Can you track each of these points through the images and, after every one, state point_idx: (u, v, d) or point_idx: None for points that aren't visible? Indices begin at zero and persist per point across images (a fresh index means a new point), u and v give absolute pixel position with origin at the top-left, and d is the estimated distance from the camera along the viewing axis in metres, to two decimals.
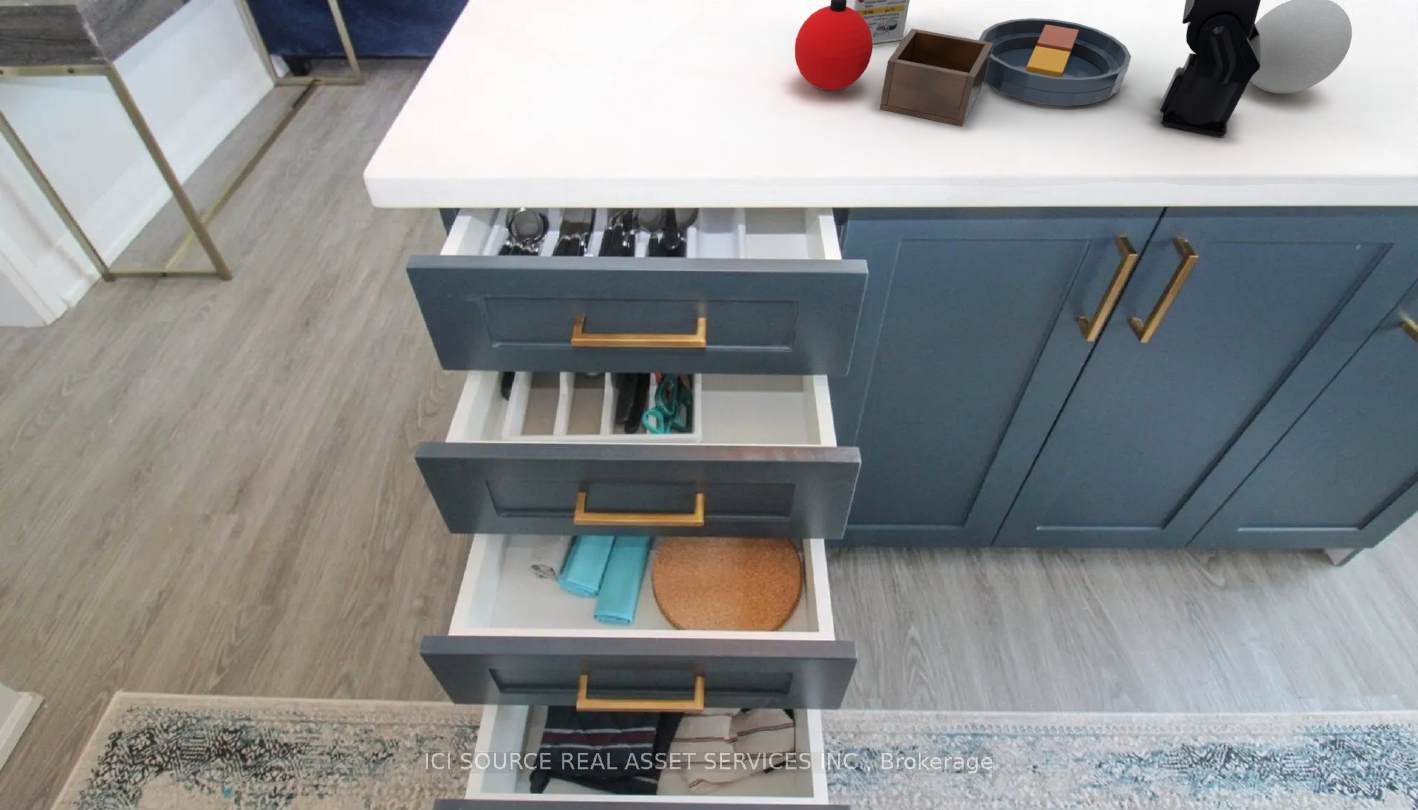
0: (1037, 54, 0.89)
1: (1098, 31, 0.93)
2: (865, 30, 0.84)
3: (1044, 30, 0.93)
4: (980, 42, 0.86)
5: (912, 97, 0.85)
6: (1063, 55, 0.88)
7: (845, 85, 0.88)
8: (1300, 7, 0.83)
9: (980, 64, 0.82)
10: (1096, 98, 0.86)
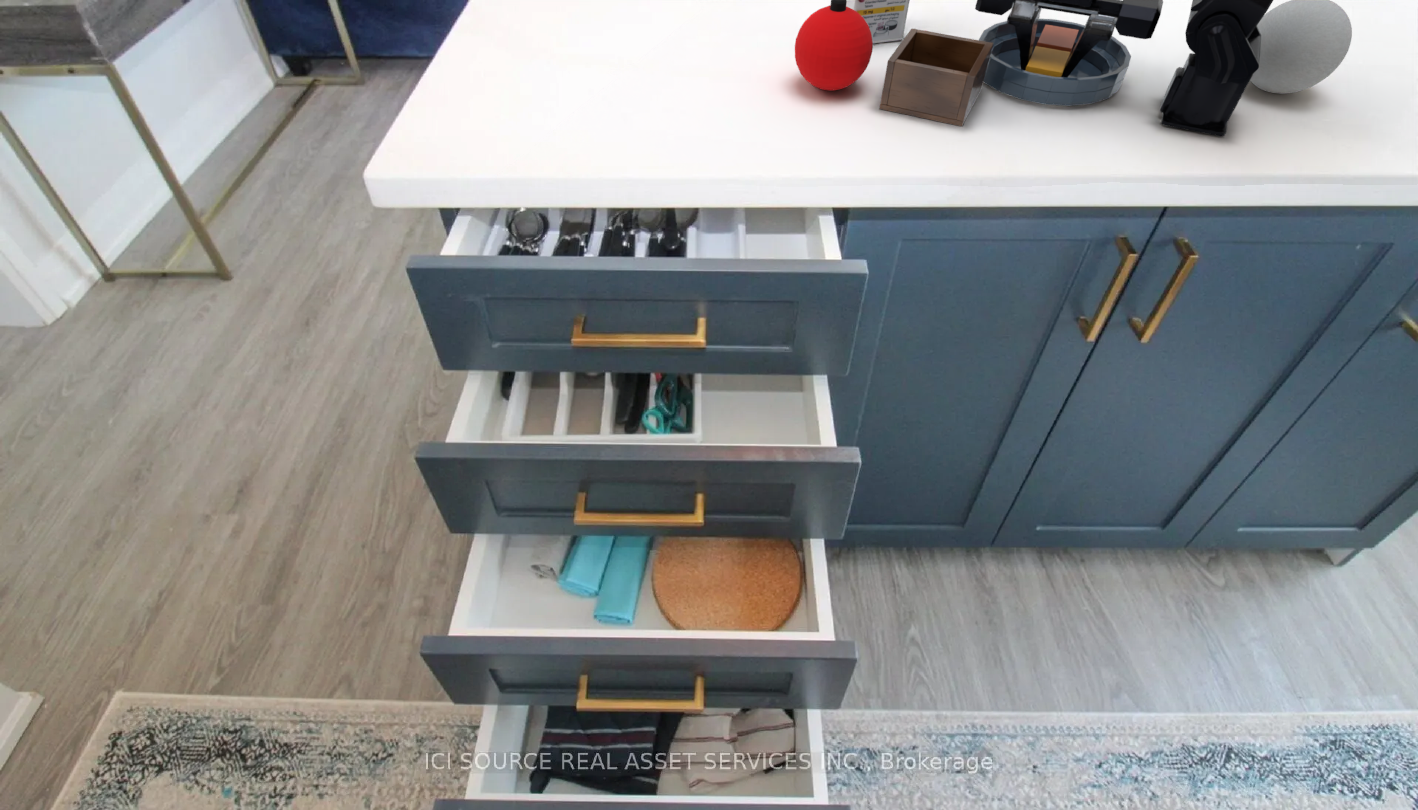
0: (1037, 54, 0.89)
1: None
2: (865, 30, 0.84)
3: (1044, 30, 0.93)
4: (980, 42, 0.86)
5: (912, 97, 0.85)
6: (1063, 55, 0.88)
7: (845, 85, 0.88)
8: (1300, 7, 0.83)
9: (980, 64, 0.82)
10: (1096, 98, 0.86)
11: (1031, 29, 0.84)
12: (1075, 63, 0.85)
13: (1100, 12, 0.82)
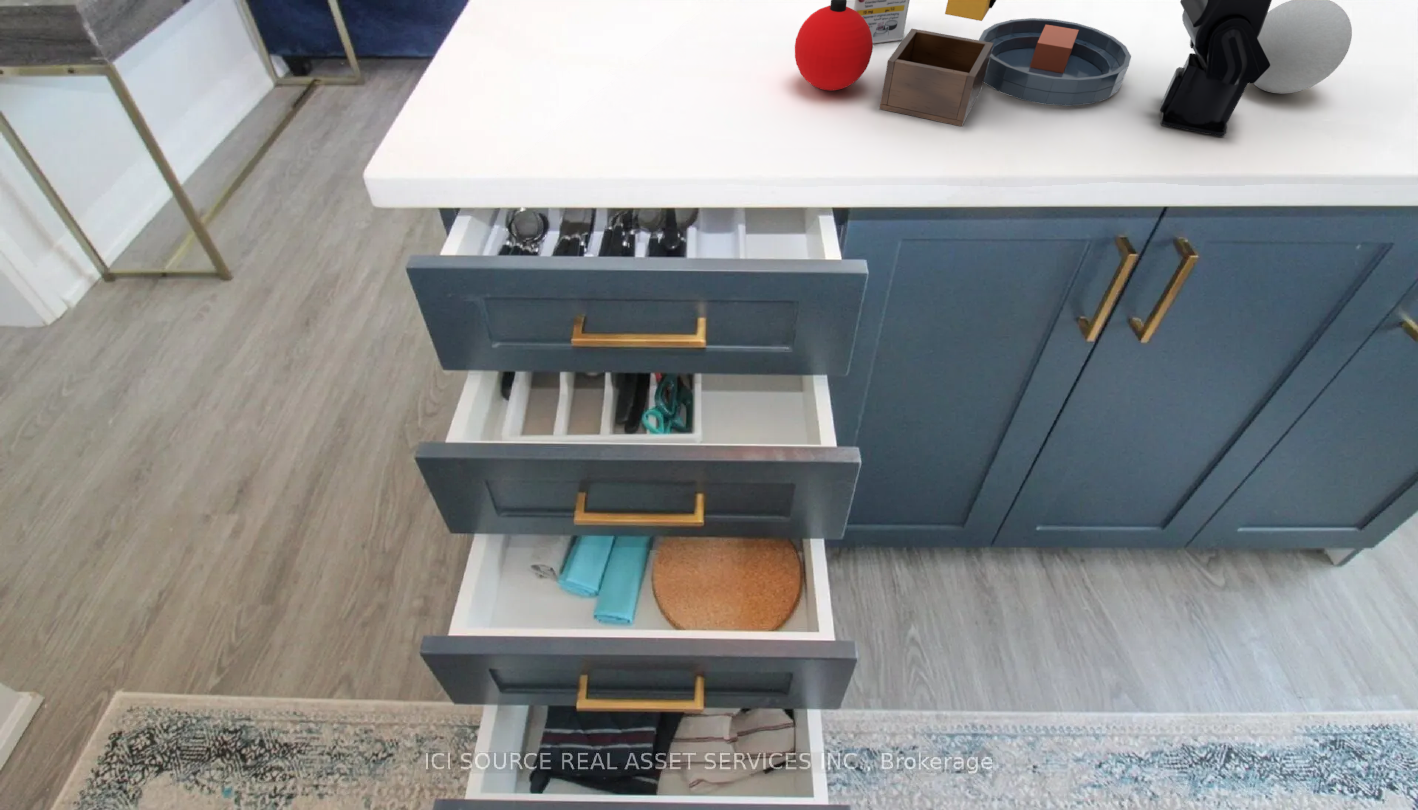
0: None
1: (1098, 31, 0.93)
2: (865, 30, 0.84)
3: (1044, 30, 0.93)
4: (980, 42, 0.86)
5: (912, 97, 0.85)
6: None
7: (845, 85, 0.88)
8: (1300, 7, 0.83)
9: (980, 64, 0.82)
10: (1096, 98, 0.86)
11: None
12: None
13: None
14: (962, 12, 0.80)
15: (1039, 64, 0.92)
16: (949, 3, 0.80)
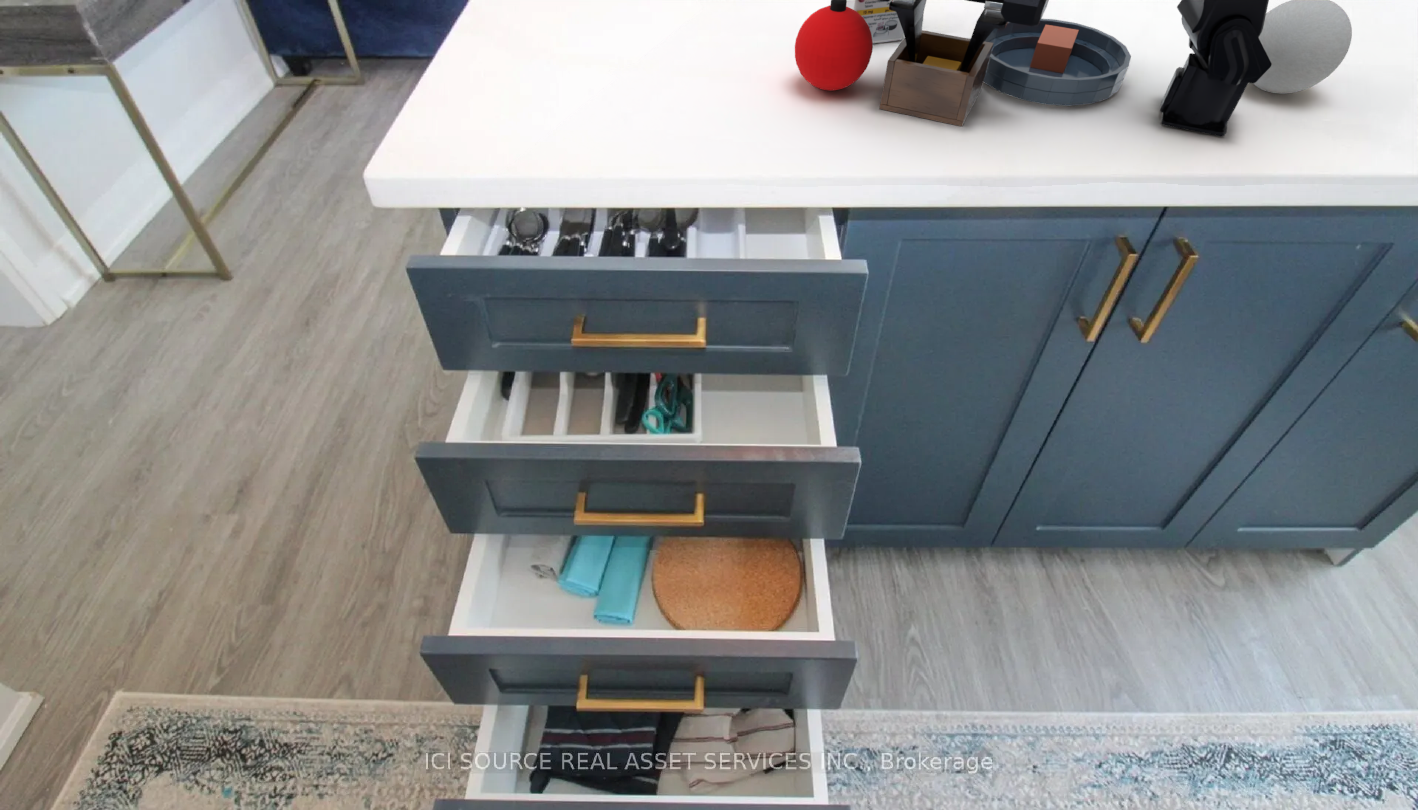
0: (927, 64, 0.87)
1: (1098, 31, 0.93)
2: (865, 30, 0.84)
3: (1044, 30, 0.93)
4: None
5: (912, 97, 0.85)
6: (953, 66, 0.86)
7: (845, 85, 0.88)
8: (1300, 7, 0.83)
9: (980, 64, 0.82)
10: (1096, 98, 0.86)
11: (913, 15, 0.81)
12: (973, 53, 0.82)
13: None
14: None
15: (1039, 64, 0.92)
16: None
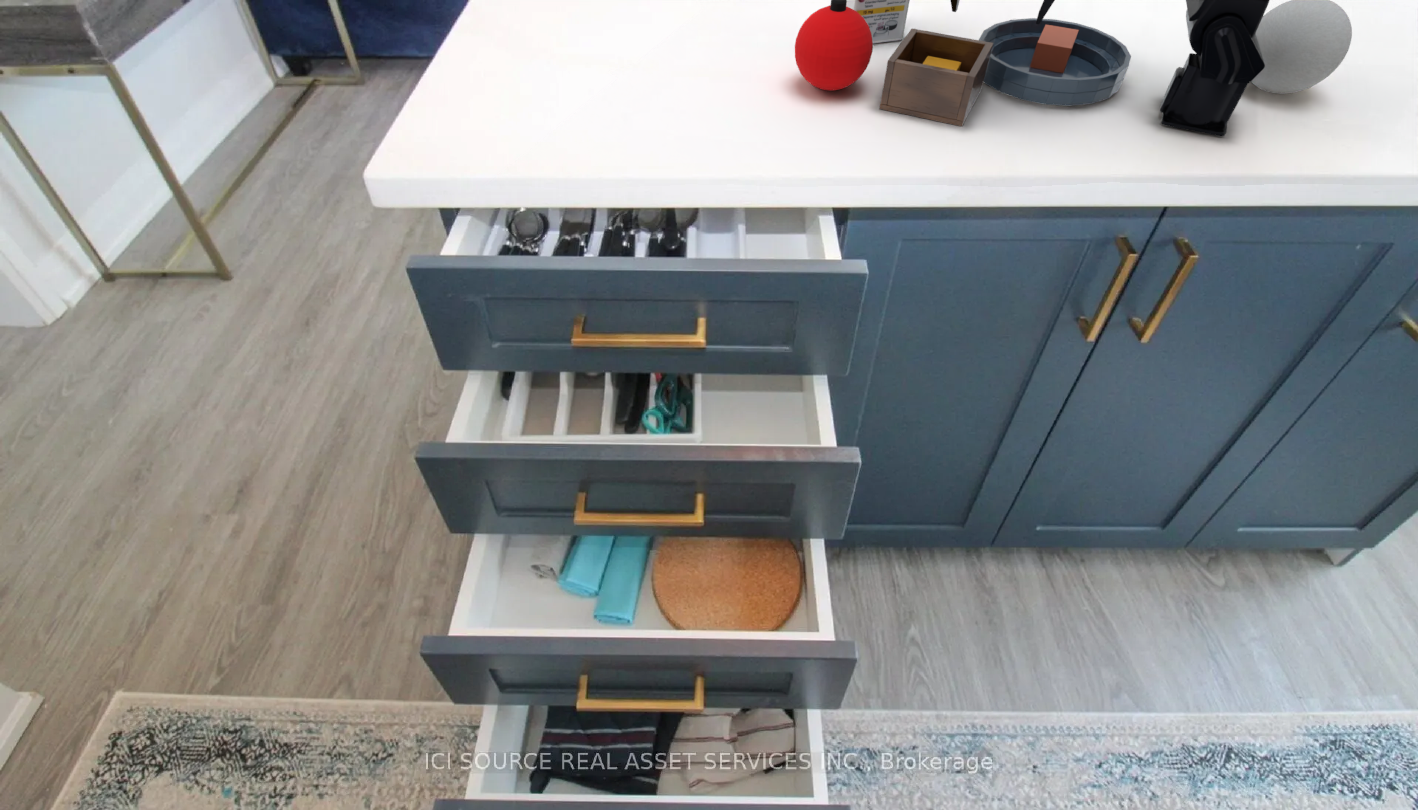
0: (927, 64, 0.87)
1: (1098, 31, 0.93)
2: (865, 30, 0.84)
3: (1044, 30, 0.93)
4: (980, 42, 0.86)
5: (912, 97, 0.85)
6: (953, 66, 0.86)
7: (845, 85, 0.88)
8: (1300, 7, 0.83)
9: (980, 64, 0.82)
10: (1096, 98, 0.86)
11: None
12: None
13: None
14: None
15: (1039, 64, 0.92)
16: None
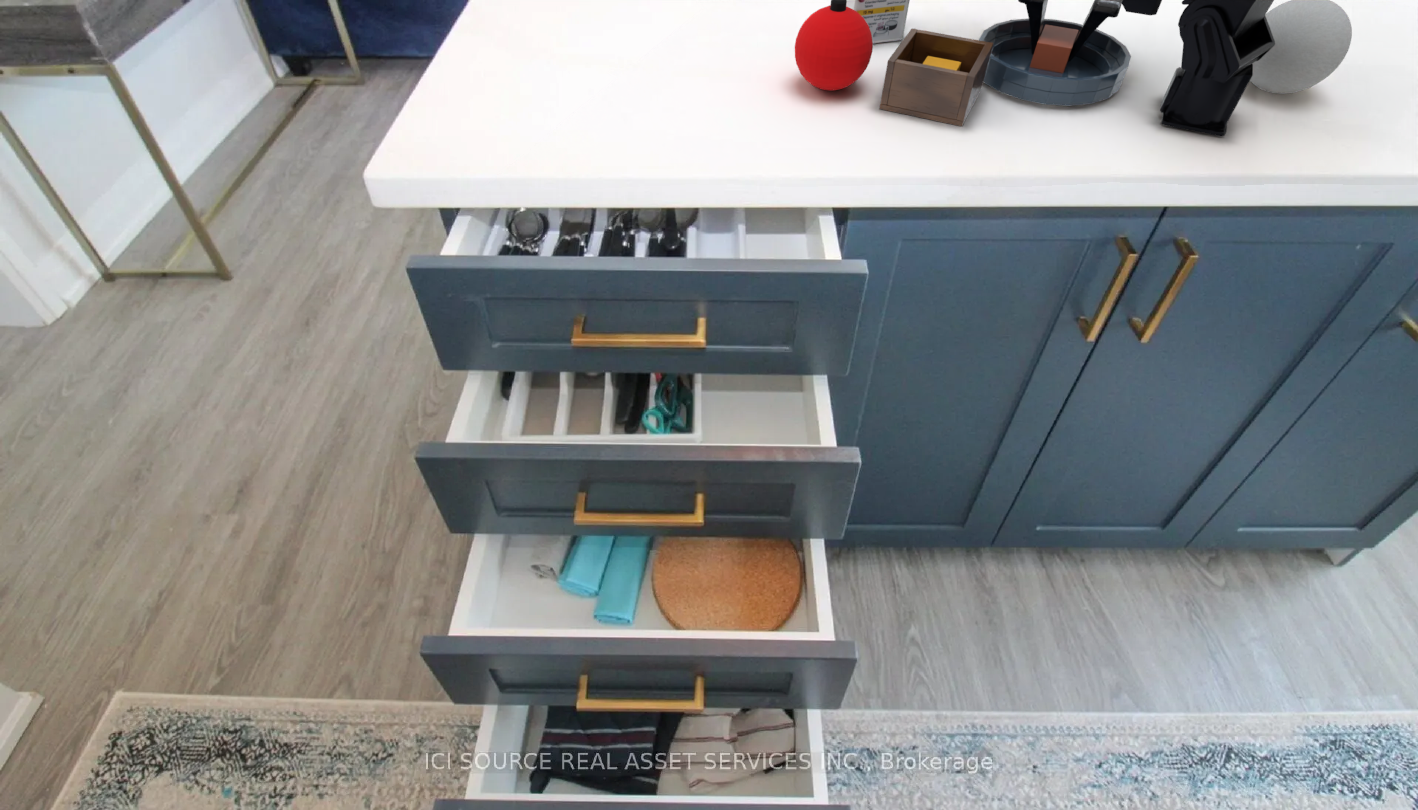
0: (927, 64, 0.87)
1: (1098, 31, 0.93)
2: (865, 30, 0.84)
3: (1044, 30, 0.93)
4: (980, 42, 0.86)
5: (912, 97, 0.85)
6: (953, 66, 0.86)
7: (845, 85, 0.88)
8: (1300, 7, 0.83)
9: (980, 64, 0.82)
10: (1096, 98, 0.86)
11: (1042, 7, 0.88)
12: (1083, 40, 0.90)
13: None
14: None
15: (1039, 64, 0.92)
16: None
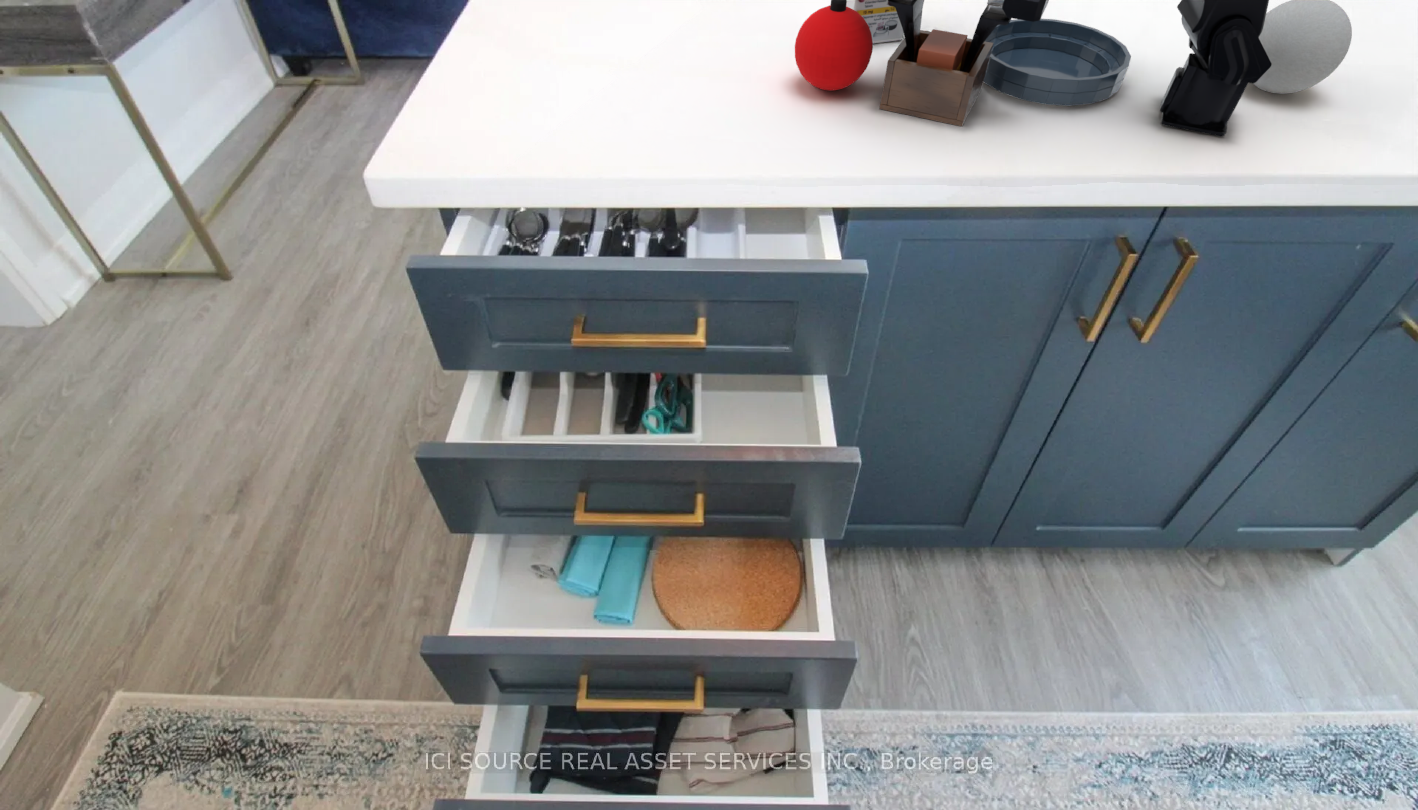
0: None
1: (1098, 31, 0.93)
2: (865, 30, 0.84)
3: (929, 35, 0.85)
4: None
5: (912, 97, 0.85)
6: None
7: (845, 85, 0.88)
8: (1300, 7, 0.83)
9: (980, 64, 0.82)
10: (1096, 98, 0.86)
11: (912, 11, 0.80)
12: (976, 49, 0.81)
13: None
14: None
15: None
16: None
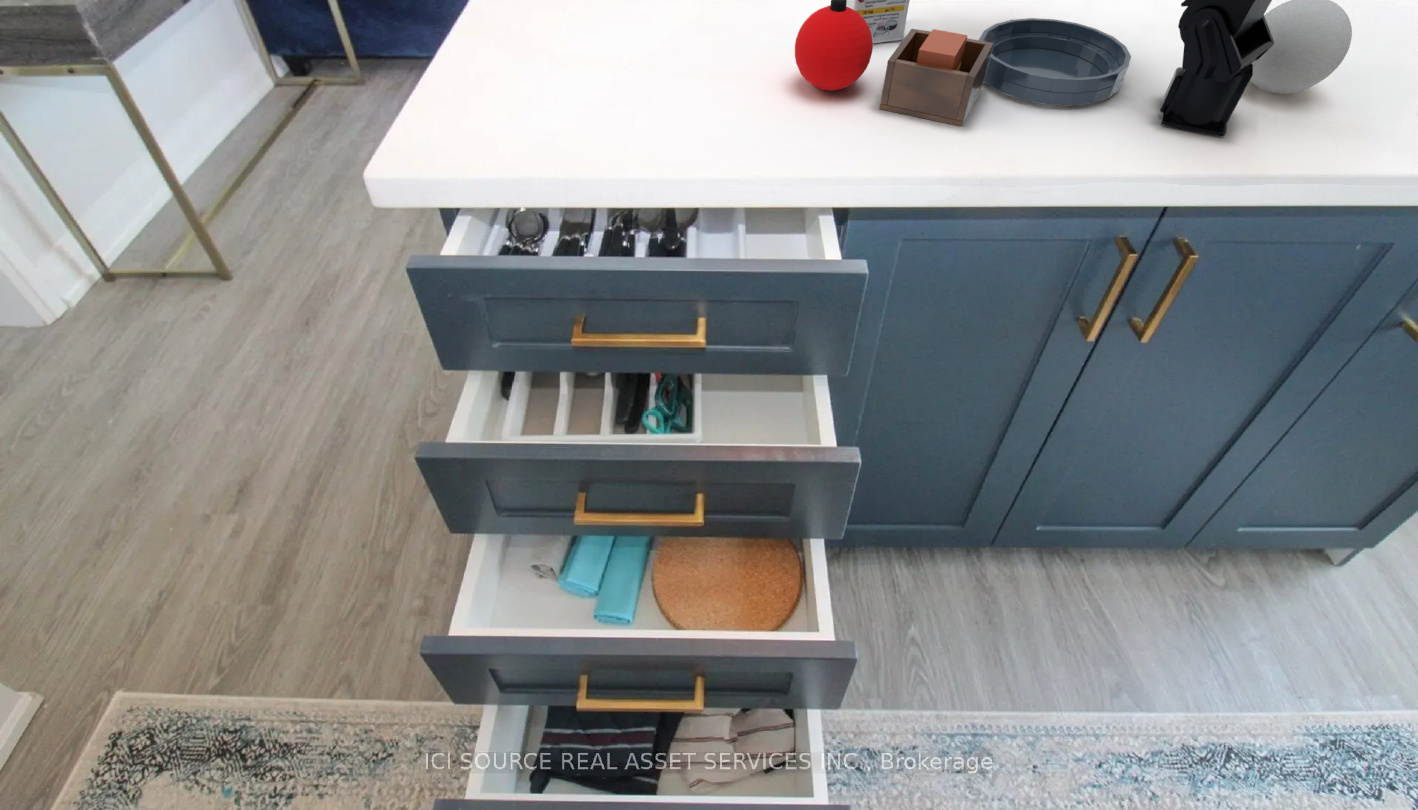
0: None
1: (1098, 31, 0.93)
2: (865, 30, 0.84)
3: (929, 35, 0.85)
4: (980, 42, 0.86)
5: (912, 97, 0.85)
6: None
7: (845, 85, 0.88)
8: (1300, 7, 0.83)
9: (980, 64, 0.82)
10: (1096, 98, 0.86)
11: None
12: None
13: None
14: None
15: None
16: None
